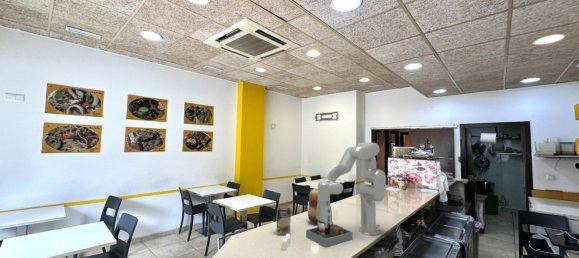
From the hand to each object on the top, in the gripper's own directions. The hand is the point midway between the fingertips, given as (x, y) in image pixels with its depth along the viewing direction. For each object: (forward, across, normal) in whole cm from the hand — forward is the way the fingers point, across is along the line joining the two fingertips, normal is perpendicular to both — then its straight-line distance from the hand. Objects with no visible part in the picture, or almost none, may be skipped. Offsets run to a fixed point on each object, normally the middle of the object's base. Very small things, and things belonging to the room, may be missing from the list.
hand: (323, 232), depth 147 cm
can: (+1, 0, 0) cm, 1 cm away
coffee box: (+5, +23, +14) cm, 28 cm away
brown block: (+4, 0, -10) cm, 11 cm away
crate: (+5, 0, -5) cm, 7 cm away
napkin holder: (+6, +6, +24) cm, 25 cm away
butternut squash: (+5, +27, -18) cm, 33 cm away
